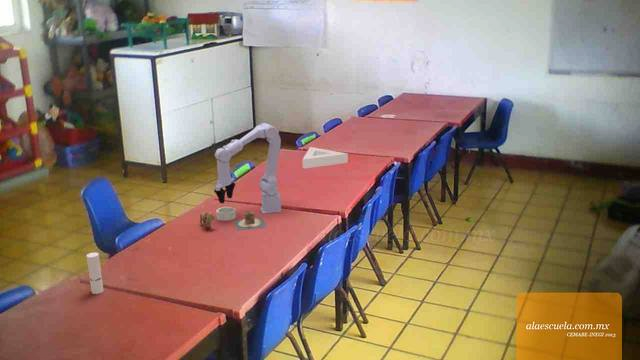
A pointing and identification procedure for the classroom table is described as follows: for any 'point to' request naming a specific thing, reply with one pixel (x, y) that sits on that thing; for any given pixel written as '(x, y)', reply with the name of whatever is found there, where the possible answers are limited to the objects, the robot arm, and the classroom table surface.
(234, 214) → the bowl
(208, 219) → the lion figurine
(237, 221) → the mat
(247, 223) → the lid
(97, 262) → the tube
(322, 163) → the triangle block
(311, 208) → the classroom table surface
